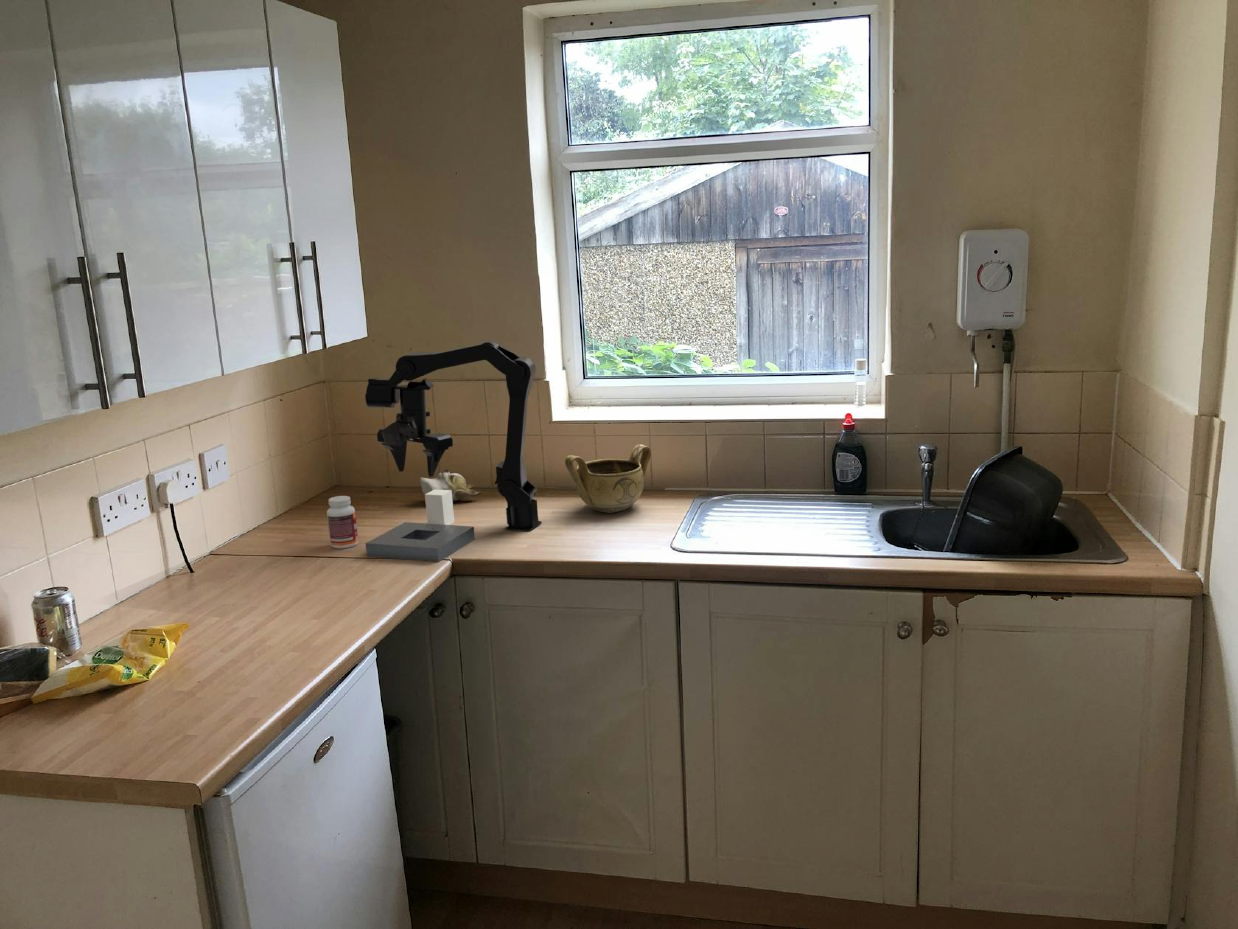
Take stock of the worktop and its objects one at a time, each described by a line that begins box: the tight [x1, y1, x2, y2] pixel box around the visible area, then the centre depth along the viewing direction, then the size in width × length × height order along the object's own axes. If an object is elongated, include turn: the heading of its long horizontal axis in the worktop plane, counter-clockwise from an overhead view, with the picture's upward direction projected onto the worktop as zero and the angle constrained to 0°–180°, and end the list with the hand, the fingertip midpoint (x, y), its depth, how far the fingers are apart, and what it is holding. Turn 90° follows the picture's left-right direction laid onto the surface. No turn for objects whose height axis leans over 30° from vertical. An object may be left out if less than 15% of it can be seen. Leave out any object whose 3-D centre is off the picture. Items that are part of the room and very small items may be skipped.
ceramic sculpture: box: [419, 469, 483, 502], centre depth 259 cm, size 11×9×15 cm
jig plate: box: [365, 521, 476, 563], centre depth 221 cm, size 18×16×3 cm
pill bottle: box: [326, 495, 359, 550], centre depth 225 cm, size 6×6×11 cm
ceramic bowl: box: [564, 443, 652, 514], centre depth 242 cm, size 22×17×15 cm
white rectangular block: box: [424, 489, 455, 525], centre depth 238 cm, size 5×5×8 cm
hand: (416, 474), depth 232 cm, fingers open, 9 cm apart
